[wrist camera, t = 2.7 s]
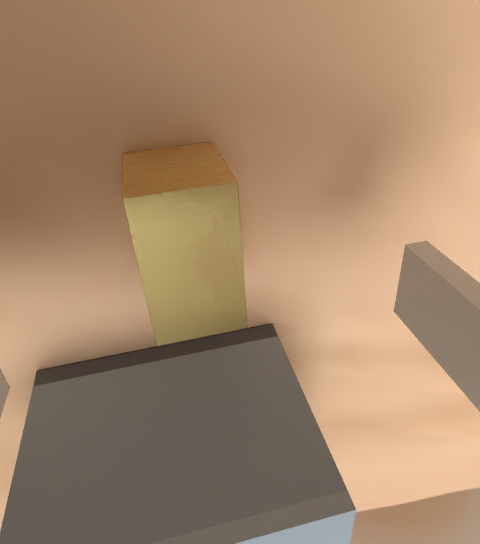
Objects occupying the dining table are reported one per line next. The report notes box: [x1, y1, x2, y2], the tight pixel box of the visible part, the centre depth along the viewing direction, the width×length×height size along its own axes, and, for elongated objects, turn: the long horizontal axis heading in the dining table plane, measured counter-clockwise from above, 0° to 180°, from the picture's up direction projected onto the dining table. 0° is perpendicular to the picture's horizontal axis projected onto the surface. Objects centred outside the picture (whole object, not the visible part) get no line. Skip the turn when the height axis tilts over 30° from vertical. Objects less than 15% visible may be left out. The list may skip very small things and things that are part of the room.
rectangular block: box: [123, 142, 247, 346], centre depth 16 cm, size 6×4×4 cm, turn 4°
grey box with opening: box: [0, 324, 356, 544], centre depth 22 cm, size 14×12×10 cm
